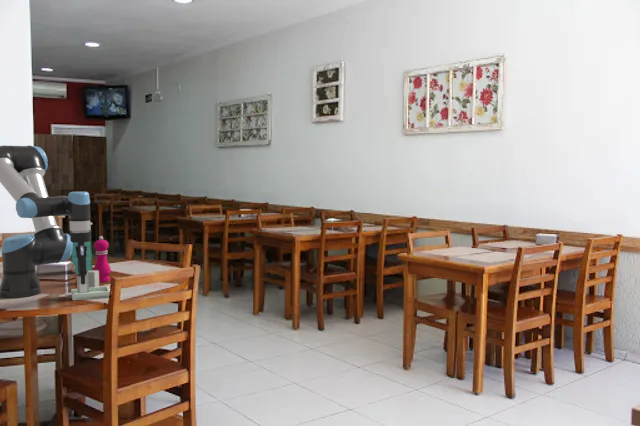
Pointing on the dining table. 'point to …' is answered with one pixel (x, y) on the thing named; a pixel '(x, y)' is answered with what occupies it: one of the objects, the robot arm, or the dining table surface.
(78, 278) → the stone
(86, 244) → the milk carton
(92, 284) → the stone
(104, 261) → the pepper mill
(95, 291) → the bin
